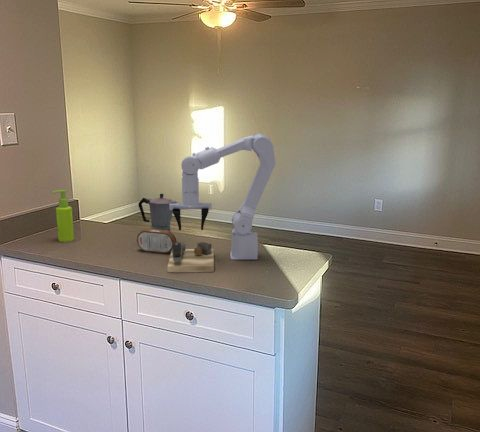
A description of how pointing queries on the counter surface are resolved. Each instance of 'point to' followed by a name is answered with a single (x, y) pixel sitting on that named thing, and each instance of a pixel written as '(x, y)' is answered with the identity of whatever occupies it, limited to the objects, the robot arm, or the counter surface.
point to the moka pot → (158, 212)
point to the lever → (178, 250)
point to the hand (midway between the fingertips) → (191, 229)
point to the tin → (156, 240)
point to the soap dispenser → (64, 219)
